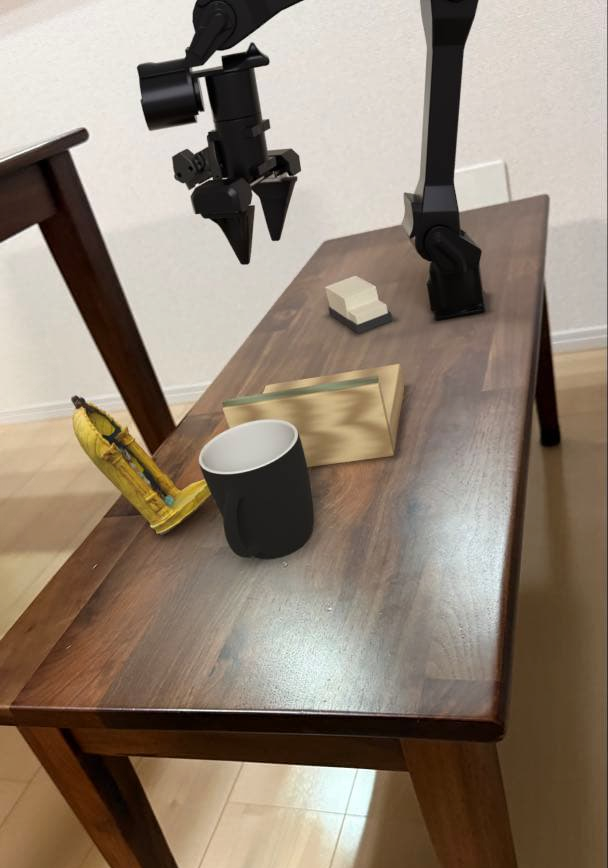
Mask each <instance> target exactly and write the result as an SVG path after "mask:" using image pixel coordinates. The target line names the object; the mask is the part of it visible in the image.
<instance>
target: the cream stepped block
mask: <svg viewBox="0 0 608 868" xmlns="http://www.w3.org/2000/svg"><path fill="white" fill-rule="evenodd" d="M325 291H326V296H327V300H328V305H329V306H328V307H327V308H328V311H329V312H328V313H329V315H330V317H332V318H334V319H335V320H337V321H338V322H340V323H341V324H343V325H344V326H345V327H347V328H348V329H350V330H351V331H353V332H354V333H356V334H357V335H359V334H362V333H364V332H367V331H369V330H372V329H374V328H377V327H380V326H383V325H385V324H388V323H390V322H392V321H393V318H392V313H391V312H390V311H389V310H388V306H387V304H386V303H385V302H383V301H381V300H379V294H378V290H377V286H375V285H374V284H372V283H370V282H368V281H366V280H365V279H363V278H361V277H359V276H357V275H353V276H351V277H347V278H345V279H343V280H340V281H337V282H334V283H332V284H329V285H326V286H325Z"/></svg>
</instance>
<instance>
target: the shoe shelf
mask: <svg viewBox="0 0 608 868" xmlns="http://www.w3.org/2000/svg"><path fill="white" fill-rule="evenodd" d="M402 373H403V372H402V368H401V363H396V364H390V365H389V364H388V365H383V366H377V367H371V368H365V369H357V370H353V371H346V372H340V373H334V374H328V375H322V376H315V377H308V378H303V379H296V380H291V381H284V382H278V383H271V384H266V385H265V388H264V390H263V391H262V393H258V394H253V395H246V396H239V397H233V398H227V399H222V401H221V404H222V411H223V414H224V417H225V420H226V422H227V426H228V429H230V428H232V427H235V426H238V425H240V424H244V423H247V422H251V421H256V420H264V419H277V420H283V421H286V422H289V423H291V424H292V425H294V426H295V427H296V429H297V431H298V433H299V436H300V439H301V443H302V446H303V450H304V455H305V459H306V463H307V468H311V467H312V468H313V467H318V466H326V465H327V466H328V465H333V464H341V463H349V462H355V461H356V462H358V461H364V460H373V459H379V458H380V459H381V458H387V457H389V458H390V457H393V456H394V455H395V450H396V443H397V437H398V429H399V424H400V418H401V412H402V407H403V406H402V404H403V398H404V391H405V384H404V378H403V374H402Z"/></svg>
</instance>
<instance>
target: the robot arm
mask: <svg viewBox="0 0 608 868" xmlns="http://www.w3.org/2000/svg"><path fill="white" fill-rule="evenodd" d="M304 1H305V0H196V1H195V2H194V6H193V9H192V27H193V29H194V34H193V36H192V40H191V41H190V44H189V46H187V47H186V48H185V49H184V53H185V56H184V57H182V58H176V59H175V58H174V59H170V60H165V61H159V62H153V61H152V62H151V61H149V62H142V63H139V64H138V65H137V66H136V71H137V75H138V83H139V91H140V97H141V98H140V105H141V110H142V114H143V117H144V121H145V123H146V127H147V129H148V131H149V132H154V131H155V132H156V131H160V130H167V129H171V128H177V127H183V126H188V125H194V124H198V116H199V115H200V113H204V112H206V107H205V101H204V96H203V90H202V85H201V80H200V79H201V78H204V82H205V83H204V84H205V87H206V93H207V99H208V103H209V109H210V115H211V120H212V124H213V129H212V130H209V131H208V132H207V135H206V141H207V146H206V147H205V148H203V149H201V150H199V151H197V152H195V153H194V152H192V151H191V150H190V149H189V148H185V149H183V150H181V151H179V152H178V153H176V154H173V156H171V161H172V170H173V173H174V174H173V178H174V180H175V181H177V182H178V183H180V184H185V186H186V188H187V190H188V191H191V190H192V189H193V191H192V192H191V195H190V196H189V197H190V202H191V207H192V213H193V214H194V215H200V216H201V217H202V218H203V219H205V220H210V221H212V222H213V223H215V224H216V225H217V226H218V227H219V229H220V230H221V231H222V233H223V235H224V236H225V238H226V239H227V242H228V243H229V246H230V247H231V250H232V251H233V252H234V255H235V257H236V258H237V259H238V262H239V264H240V265H242V266H246V265H247V266H248V265H250V263H251V258H252V249H253V248H252V247H253V236H254V234H253V233H254V223H255V211H256V205H255V204H252V200H253V193H254V194H255V196H257V198H259V202H260V205H261V208H262V213H263V217H264V220H265V224H266V228H267V231H268V234H269V237H270V240H271V241H272V242H279V241H280V240H281V238H282V235H283V230H284V226H285V221H286V218H287V214H288V211H289V206H290V202H291V199H292V195H293V192H294V188H295V185H296V183H297V181H298V179H299V178H298V176H297V174H299V173H300V172H302V167H301V159H300V158H301V157H300V154H298V153H297V151H295V150H294V149H293V148H291V147H290V148H279V149H269V150H268V144H267V138H266V133H265V132H267V131H269V130H270V129H271V127H272V126H271V121H270V118H265V119H263V113H262V107H261V102H260V101H261V100H260V96H259V89H258V88H259V87H258V83H257V77H256V71H255V69H257V68H261V67H267V66H269V65H270V62H271V61H270V58H269V56H268V55H267V54H265V53H264V52H262V51H261V50H260V49H259V48H258V46H257V45H256V43H255V42H254V41H250V42H249V45H248V47H247V49H246V51H240V52H236V53H235V52H234V53H230V54H224V55H221V56H220V57H221V58H220V59H221V65H219V66H214V67H209V68H204V69H199V70H198V69H197V70H194V69H193V68H196V67H202V66H204V65H205V64H206V63H207V62H208V61H209V60H210V59H211V58H212V57H213V55H214V54H215V53H216V52H223V51H227V50H230V49H232V48H234V47H236V46H237V45H239V44H240V43H241V42H243V41H244V40H245V39H247V38H248V37H249V36H251V35H252V34H253V33H254V32H256V31H258V30H259V29H260V28H261V27H262V26H264V25H265V24H266V23H268V22H269V21H270V20H271V19H273V18H274V17H275V16H277V15H278V14H279V13H280V12H281V13H282V11H285V10H286V9H289V8H291V7H293V6H296V5H297V4H299V3H301V2H304ZM479 2H480V1H479V0H419V6H420V15H421V21H422V28H423V32H424V39H425V45H426V59H425V75H424V76H425V77H424V92H423V93H424V96H423V111H422V113H423V114H422V127H421V129H422V131H421V145H420V146H421V147H420V164H419V165H420V166H419V178H418V181H417V185H416V186H415V187H416V188H415V190H414V192H413V193H411V192H407V191H406V192H403V193H402V194H403V204H404V214H403V219H402V221H401V222H400V225H401V226H402V228H403V229H404V231H405V233H406V235H407V237H408V240H409V242H410V243H411V245H412V246H413V248H414V249H415V251H416V253H417V254H418V255H419V257H421V258H422V259H423V260H425V261H427V262H429V267H428V273H429V274H428V275H427V277H426V290H427V294H428V300H429V307H430V311H431V312H432V313H434V320H435V321H441V320H447V319H452V318H453V319H454V318H459V317H463V316H470V315H476V314H481V313H484V312H486V291H485V290H484V286H483V277H482V272H481V264H480V263H481V257H482V253H483V250H482V248H480V246H479V245H478V244H477V243H476V242H475V240H474V239H472V237H471V236H470V235H469V234H468V233H467V231H465V230H464V229H462V228H461V219H460V210H459V204H458V203H459V202H458V198H457V192H456V187H455V171H456V160H457V159H456V157H457V147H458V133H459V121H460V120H459V118H460V106H461V92H462V79H463V67H464V56H465V55H464V54H465V47H466V43H467V41H468V38H469V35H470V32H471V30H472V27H473V23H474V21H475V18H476V14H477V10H478V5H479ZM199 112H200V113H199ZM196 185H198V186H196Z"/></svg>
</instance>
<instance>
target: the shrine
mask: <svg viewBox="0 0 608 868" xmlns="http://www.w3.org/2000/svg"><path fill="white" fill-rule="evenodd" d="M70 401H71V403H72V405H74V407H75V408H74V410H73V412H72V417H71V421H72V428H73V431H74V434H75V437H76V439H77V441H78V443H79V445H80V447H81V449H82V450H83V452H84V453H85V454H86V455H87V457H88V458H89V459H90V461H91V462H92V463H93V465H95V467H96V468H97V469H98V470H99V471H100V472H101V473H102V475H104V477H106V479H107V480H109V482H110V483H111V484H112V485H113V486H114V487H115V488H116V489H117V490H118V491H119V492H120V493H121V494H122V495H123V497H125V498H126V499H127V500H128V501H129V502H130V504H131V505H133V507H134V508H135V509H136V510H137V511H138V512H139V513H140V514H141V516H143V518H145V520H147V522H148V523H149V524H150V525H149V526H150V529H153V530H154V531H155V534H156V535H158V536H163V535H165V534H167V533H170V532H171V531H172V530H173V529H174V528H175V527H177V526H178V525H180V524H181V523H183V522H184V521H185V520H186V519H188V518H190V517H191V516H192V515H193V514H194V513H196V512H197V510H199V509H200V508H201V507H202V506H203V504H205V503H206V502H207V501H208V499H210V498H211V497H212V495H211V493H210V490H209V488H208V486H207V483H206V481H205V479H202V480H198V481H195V482H192V483H190V484H189V485H187V486H186V487H185V488H183V489H181V490H180V489H178V487H176V486H175V484H174V482H173V480H171V479H170V478H169V476H168V475H167V474H165V473H164V472H163V471H162V470H161V469H160V467H158V465H157V464H156V462H155V461H154V460H153V459H152V458H151V456H150V455H149V454H148V453H147V452H146V451H145V450H144V448H143V447H142V446H140V445H139V443H138V442H137V441H136V438H135V437H133V436H132V434H130V431H129V427H128V426H127V425H125V426H124V427H123V426H122V424H120V423H119V422H118V421H116V420H115V418H114V417H113V416H111V415H110V413H106V410H103V409H102V408H99V407H98V406H97V405H95V403H92V402H87V401H86V399H85V398H84V397H82V396H78V395H77V394H74V395H73V396H71V397H70Z"/></svg>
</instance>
